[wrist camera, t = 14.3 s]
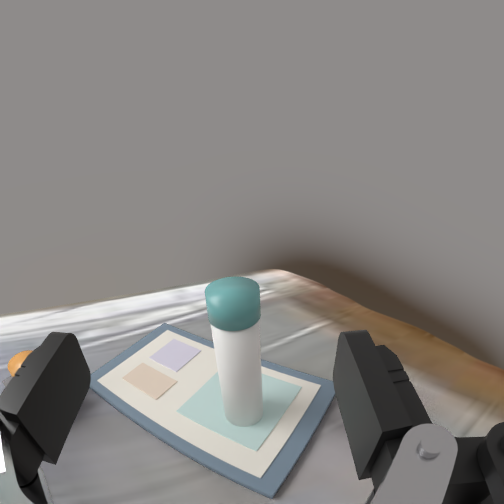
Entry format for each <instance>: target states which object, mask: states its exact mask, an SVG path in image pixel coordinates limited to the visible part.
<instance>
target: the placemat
mask: <svg viewBox="0 0 504 504" xmlns="http://www.w3.org/2000/svg"><path fill="white" fill-rule="evenodd" d="M261 370H262V394H263V416H262V418H261V420H260V421H259V422H257V423H256V424H254V425H251V426H247V427H239V426H235V425H233V424H231V423H230V422H229V421H228V420H227V419H226V416H225V411H224V405H223V400H222V394H221V388H220V382H219V375H218V369H217V363H216V356H215V350H214V343H213V342H212V341H209V340H206V339H204V338H201V337H199V336H196V335H193V334H191V333H188V332H186V331H183V330H181V329H178V328H176V327H173V326H171V325H169V324H166V323H164V324H162V325H161V326H159V327H158V328H157V329H155V330H154V331H152V332H151V333H149V334H148V335H147V336H145V337H144V338H142V339H141V340H139V341H138V342H137V343H135V344H134V345H132V346H131V347H129V348H128V349H126V350H125V351H124V352H122V353H121V354H119V355H118V356H116V357H115V358H114V359H112V360H111V361H109V362H108V363H106V364H105V365H104V366H102V367H101V368H99V369H98V370H96V371H95V372H93V373H92V374H91V382H90V387H89V388H91V389H92V390H93V391H94V392H95V393H97V394H98V395H99V396H100V397H102V398H103V399H104V400H105V401H107V402H108V403H109V404H111V405H112V406H113V407H114V408H116V409H117V410H118V411H120V412H121V413H122V414H124V415H125V416H126V417H128V418H129V419H131V420H132V421H133V422H135V423H136V424H138V425H139V426H140V427H142V428H143V429H145V430H146V431H148V432H149V433H151V434H152V435H154V436H155V437H157V438H158V439H160V440H161V441H163V442H164V443H166V444H168V445H169V446H171V447H172V448H174V449H176V450H177V451H179V452H181V453H182V454H184V455H186V456H187V457H189V458H191V459H192V460H194V461H196V462H198V463H199V464H201V465H203V466H205V467H207V468H209V469H210V470H212V471H214V472H216V473H218V474H220V475H222V476H224V477H226V478H228V479H230V480H232V481H234V482H236V483H238V484H240V485H242V486H244V487H246V488H248V489H250V490H253V491H255V492H257V493H259V494H262V495H264V496H266V497H269V498H271V499H272V498H273V497H274V496H275V494H276V493H277V491H278V490H279V488H280V487H281V485H282V484H283V482H284V481H285V479H286V478H287V476H288V475H289V473H290V472H291V470H292V468H293V467H294V465H295V464H296V462H297V461H298V459H299V457H300V456H301V454H302V452H303V451H304V449H305V448H306V446H307V444H308V443H309V441H310V439H311V437H312V436H313V434H314V432H315V431H316V429H317V427H318V425H319V424H320V422H321V420H322V418H323V416H324V415H325V413H326V411H327V409H328V407H329V405H330V403H331V402H332V400H333V398H334V396H335V390H334V385H333V381H330V380H326V379H323V378H319V377H316V376H313V375H309V374H306V373H303V372H299V371H296V370H293V369H290V368H286V367H283V366H280V365H277V364H274V363H271V362H268V361H265V360H262V359H261Z"/></svg>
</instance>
